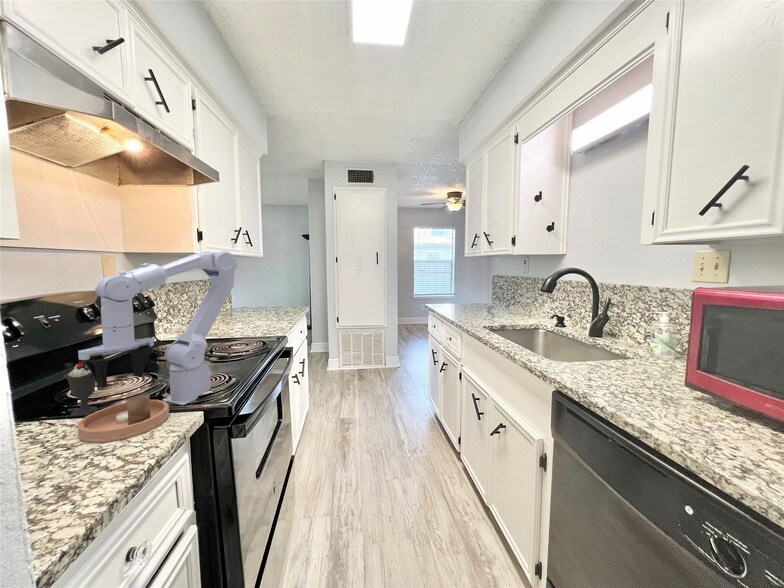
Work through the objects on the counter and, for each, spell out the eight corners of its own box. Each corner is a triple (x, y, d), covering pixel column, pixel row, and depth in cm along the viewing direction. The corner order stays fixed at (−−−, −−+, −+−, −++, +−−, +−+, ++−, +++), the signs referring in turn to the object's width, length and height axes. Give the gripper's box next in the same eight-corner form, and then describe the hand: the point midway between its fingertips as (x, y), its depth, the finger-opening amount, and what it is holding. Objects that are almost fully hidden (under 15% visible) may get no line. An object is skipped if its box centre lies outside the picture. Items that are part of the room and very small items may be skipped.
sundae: (79, 419, 75) (75, 358, 74) (58, 415, 76) (54, 356, 75) (109, 407, 81) (106, 351, 80) (89, 404, 83) (86, 350, 81)
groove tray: (140, 405, 83) (140, 396, 83) (183, 414, 78) (183, 405, 78) (61, 434, 68) (60, 423, 68) (108, 449, 63) (107, 437, 62)
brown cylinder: (143, 418, 74) (142, 393, 73) (154, 421, 72) (153, 396, 72) (124, 425, 70) (122, 400, 70) (135, 429, 69) (134, 403, 68)
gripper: (140, 320, 82) (142, 370, 83) (68, 330, 68) (72, 389, 69) (158, 322, 80) (160, 373, 81) (88, 332, 66) (91, 394, 67)
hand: (121, 381), depth 75 cm, fingers open, 7 cm apart
